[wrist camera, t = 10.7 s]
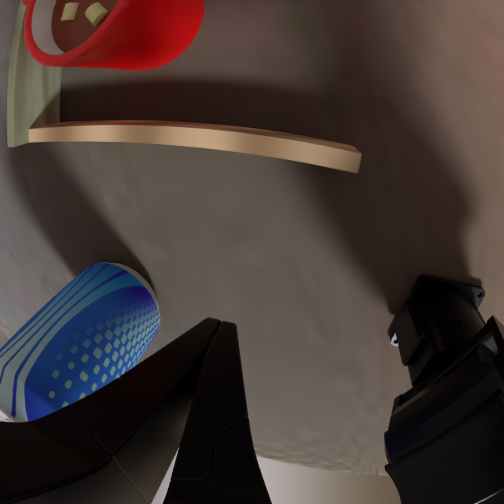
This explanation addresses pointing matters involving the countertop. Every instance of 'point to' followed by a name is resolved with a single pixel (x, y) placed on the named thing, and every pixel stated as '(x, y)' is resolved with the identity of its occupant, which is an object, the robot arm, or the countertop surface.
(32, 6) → the mug
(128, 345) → the beer can
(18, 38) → the wooden box
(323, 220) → the countertop surface
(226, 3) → the countertop surface
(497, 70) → the countertop surface
